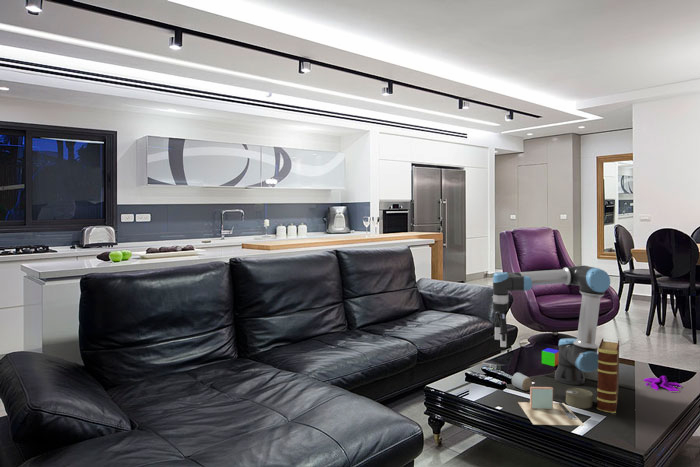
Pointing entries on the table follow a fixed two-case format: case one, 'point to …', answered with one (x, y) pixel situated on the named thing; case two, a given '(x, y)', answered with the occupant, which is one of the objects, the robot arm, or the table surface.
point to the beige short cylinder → (579, 397)
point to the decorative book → (608, 376)
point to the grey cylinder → (521, 381)
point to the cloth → (661, 383)
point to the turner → (568, 414)
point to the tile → (541, 397)
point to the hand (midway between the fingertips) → (500, 343)
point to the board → (549, 415)
